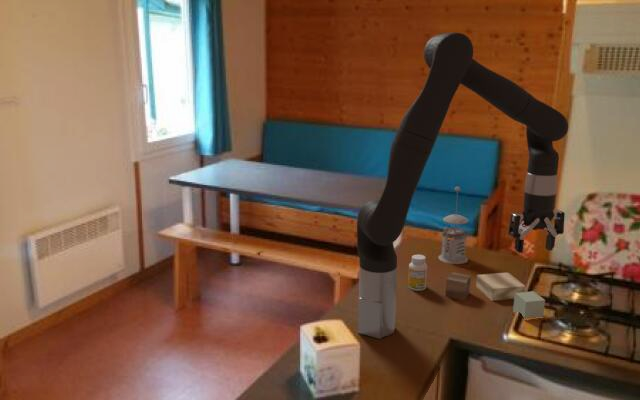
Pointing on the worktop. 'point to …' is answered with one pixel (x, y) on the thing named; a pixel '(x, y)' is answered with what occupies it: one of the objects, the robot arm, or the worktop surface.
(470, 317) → the worktop surface
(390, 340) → the worktop surface
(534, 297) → the green cube
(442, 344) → the worktop surface
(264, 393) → the worktop surface
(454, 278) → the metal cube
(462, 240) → the french press
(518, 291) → the pine block
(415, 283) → the supplement bottle
